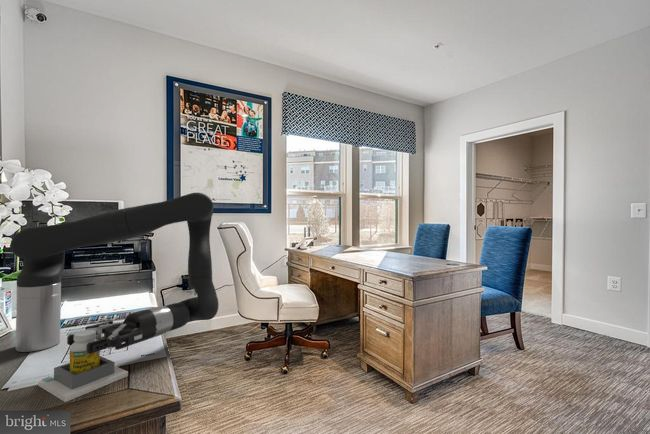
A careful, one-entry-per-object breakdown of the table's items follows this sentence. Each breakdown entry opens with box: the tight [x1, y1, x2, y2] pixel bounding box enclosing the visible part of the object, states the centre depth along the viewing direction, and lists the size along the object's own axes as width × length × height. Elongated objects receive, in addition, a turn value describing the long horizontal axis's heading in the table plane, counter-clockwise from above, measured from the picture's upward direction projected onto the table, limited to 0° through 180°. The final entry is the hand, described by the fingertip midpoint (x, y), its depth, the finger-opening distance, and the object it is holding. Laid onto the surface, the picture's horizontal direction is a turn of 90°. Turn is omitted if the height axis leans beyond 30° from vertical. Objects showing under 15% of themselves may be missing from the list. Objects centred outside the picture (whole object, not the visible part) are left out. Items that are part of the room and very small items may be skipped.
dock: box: [37, 355, 129, 403], centre depth 71 cm, size 12×12×4 cm
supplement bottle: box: [69, 329, 101, 375], centre depth 71 cm, size 5×5×10 cm
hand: (77, 344), depth 69 cm, fingers open, 8 cm apart
